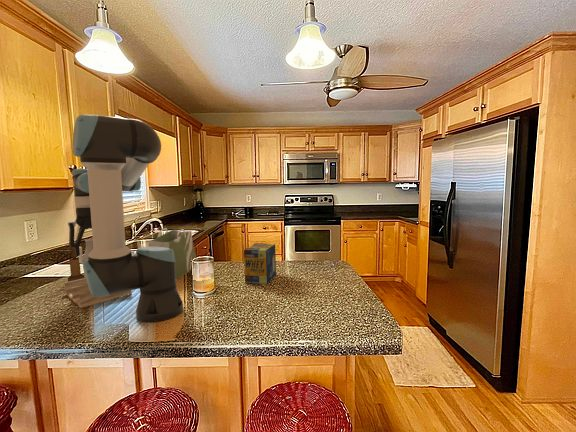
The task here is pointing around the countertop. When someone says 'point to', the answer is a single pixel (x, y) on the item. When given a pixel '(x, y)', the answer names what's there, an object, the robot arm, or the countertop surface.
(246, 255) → the protein box
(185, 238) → the grocery bag
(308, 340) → the countertop surface
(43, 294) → the countertop surface
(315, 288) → the countertop surface
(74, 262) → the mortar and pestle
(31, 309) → the countertop surface
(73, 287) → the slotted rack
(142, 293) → the robot arm
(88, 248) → the flask
